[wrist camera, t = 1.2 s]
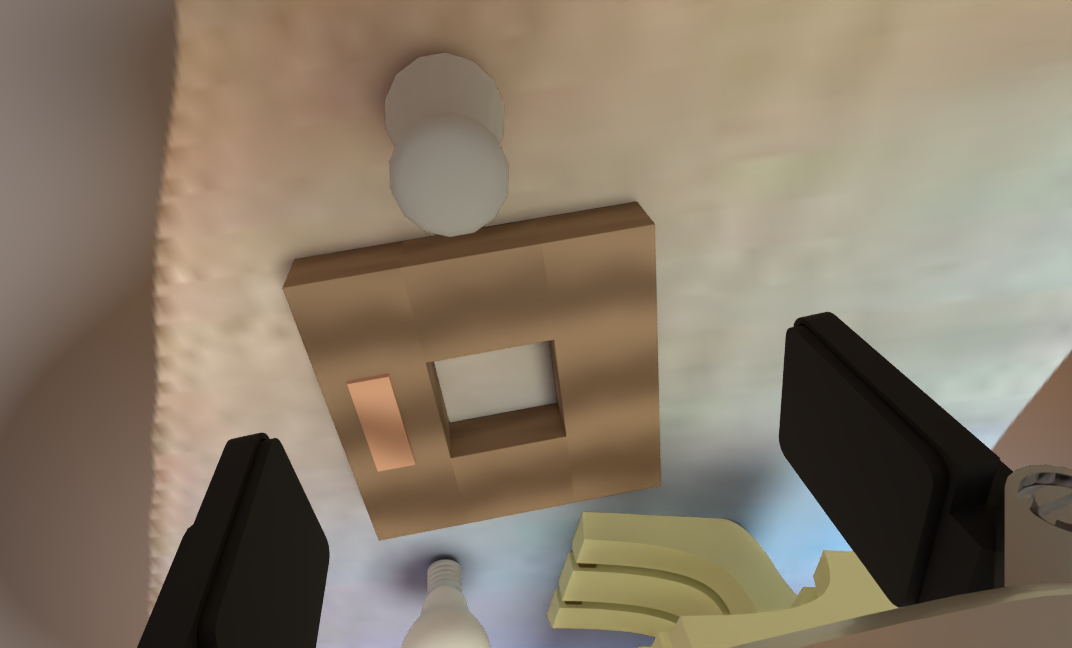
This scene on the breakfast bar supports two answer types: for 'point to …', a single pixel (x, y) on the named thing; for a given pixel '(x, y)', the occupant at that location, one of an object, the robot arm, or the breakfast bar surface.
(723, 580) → the slatted curved stool
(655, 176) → the breakfast bar surface
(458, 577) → the lightbulb
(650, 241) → the socket block
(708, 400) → the breakfast bar surface
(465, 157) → the salt shaker
